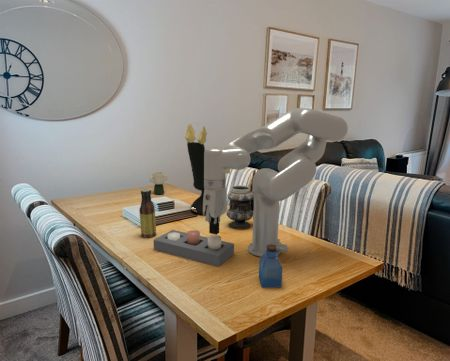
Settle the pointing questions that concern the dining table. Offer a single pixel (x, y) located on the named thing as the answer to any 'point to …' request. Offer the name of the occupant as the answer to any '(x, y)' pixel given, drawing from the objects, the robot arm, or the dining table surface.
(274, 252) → the perfume bottle
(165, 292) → the dining table surface
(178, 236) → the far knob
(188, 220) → the dining table surface
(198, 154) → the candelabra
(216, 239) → the near knob
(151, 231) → the sauce bottle
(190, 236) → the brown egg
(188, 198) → the dining table surface
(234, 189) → the apothecary jar
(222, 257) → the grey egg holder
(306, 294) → the dining table surface
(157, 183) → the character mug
